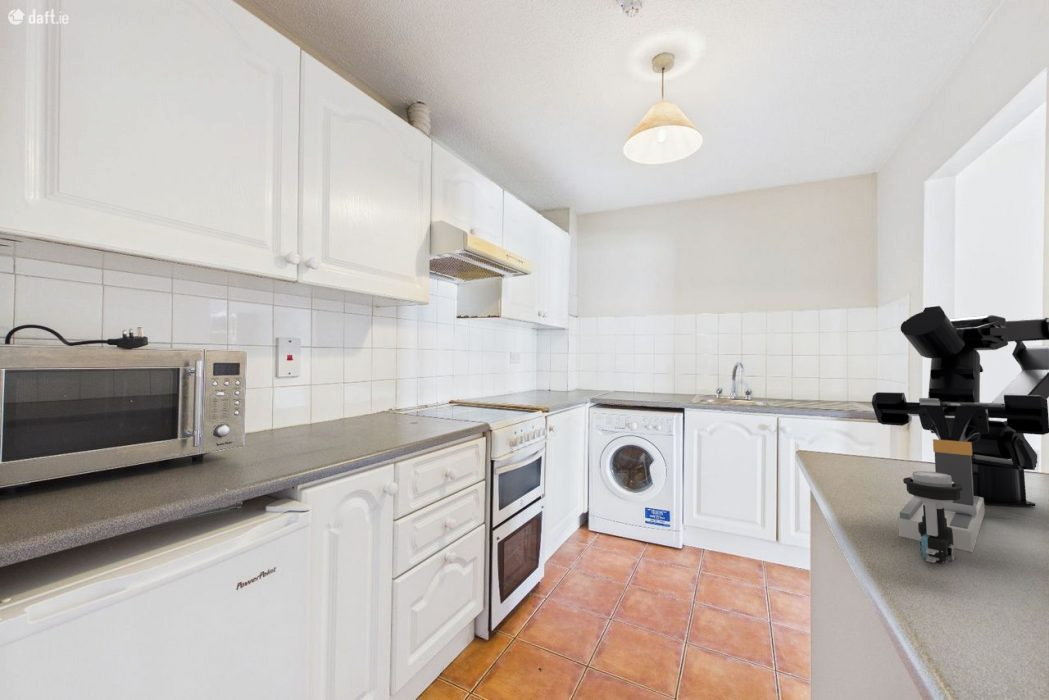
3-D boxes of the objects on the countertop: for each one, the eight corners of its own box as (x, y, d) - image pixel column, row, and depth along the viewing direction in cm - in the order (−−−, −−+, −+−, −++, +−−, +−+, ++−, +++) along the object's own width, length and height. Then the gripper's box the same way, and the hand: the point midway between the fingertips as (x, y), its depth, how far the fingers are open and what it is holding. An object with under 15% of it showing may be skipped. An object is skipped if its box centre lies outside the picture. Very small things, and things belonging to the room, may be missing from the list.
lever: (936, 508, 62) (933, 439, 63) (976, 515, 59) (972, 442, 60) (935, 509, 61) (931, 439, 62) (975, 516, 58) (971, 442, 59)
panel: (923, 503, 72) (922, 483, 72) (984, 513, 66) (983, 492, 66) (899, 536, 59) (897, 511, 59) (972, 552, 54) (970, 525, 54)
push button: (961, 574, 48) (955, 484, 49) (900, 558, 52) (894, 476, 53) (971, 557, 52) (965, 474, 53) (913, 543, 56) (908, 467, 57)
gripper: (1047, 412, 65) (1055, 501, 58) (889, 406, 80) (879, 477, 72) (1043, 361, 61) (1051, 451, 53) (876, 365, 75) (864, 436, 68)
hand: (950, 456), depth 62 cm, fingers closed, pressing on lever
